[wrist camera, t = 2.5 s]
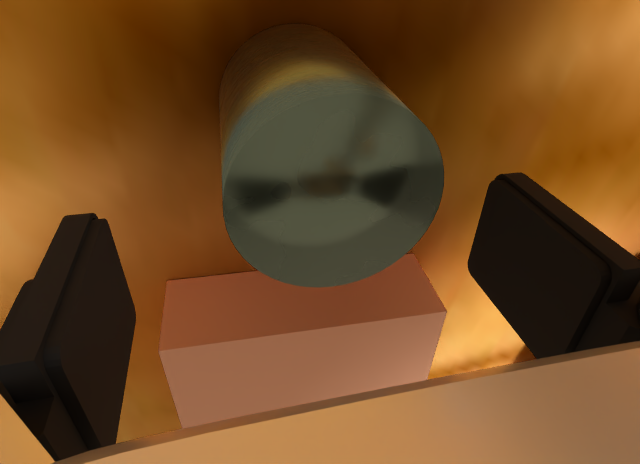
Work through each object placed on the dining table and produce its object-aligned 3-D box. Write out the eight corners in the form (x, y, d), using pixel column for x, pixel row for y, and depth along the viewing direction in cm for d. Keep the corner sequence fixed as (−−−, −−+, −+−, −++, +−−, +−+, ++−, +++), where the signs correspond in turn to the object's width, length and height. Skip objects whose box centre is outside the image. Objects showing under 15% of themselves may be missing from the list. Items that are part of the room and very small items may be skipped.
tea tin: (372, 22, 15) (466, 89, 9) (359, 164, 18) (423, 275, 13) (209, 24, 14) (208, 99, 8) (227, 174, 17) (234, 298, 12)
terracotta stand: (413, 253, 22) (447, 311, 19) (385, 391, 29) (406, 449, 26) (166, 280, 20) (158, 350, 17) (202, 421, 27) (201, 489, 24)
